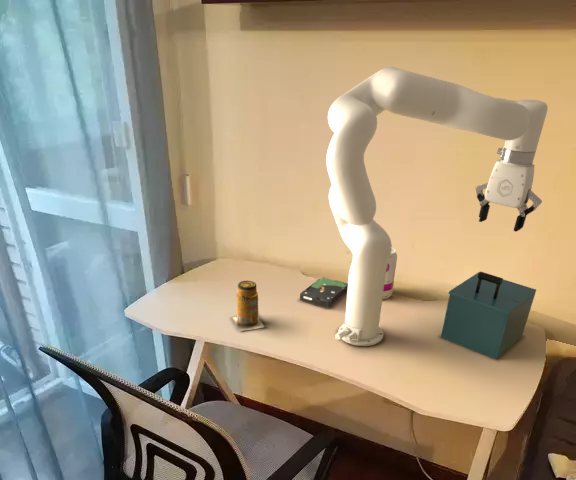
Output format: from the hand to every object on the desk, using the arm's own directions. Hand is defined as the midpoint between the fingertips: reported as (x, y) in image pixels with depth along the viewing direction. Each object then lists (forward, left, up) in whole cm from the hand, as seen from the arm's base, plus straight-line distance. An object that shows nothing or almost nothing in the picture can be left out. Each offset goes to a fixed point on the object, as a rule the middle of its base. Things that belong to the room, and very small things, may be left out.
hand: (499, 225), depth 143 cm
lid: (-7, -5, -16) cm, 18 cm away
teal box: (-6, -5, -29) cm, 30 cm away
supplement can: (-4, +31, -30) cm, 43 cm away
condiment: (-46, +48, -30) cm, 73 cm away
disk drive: (-17, +43, -30) cm, 55 cm away
